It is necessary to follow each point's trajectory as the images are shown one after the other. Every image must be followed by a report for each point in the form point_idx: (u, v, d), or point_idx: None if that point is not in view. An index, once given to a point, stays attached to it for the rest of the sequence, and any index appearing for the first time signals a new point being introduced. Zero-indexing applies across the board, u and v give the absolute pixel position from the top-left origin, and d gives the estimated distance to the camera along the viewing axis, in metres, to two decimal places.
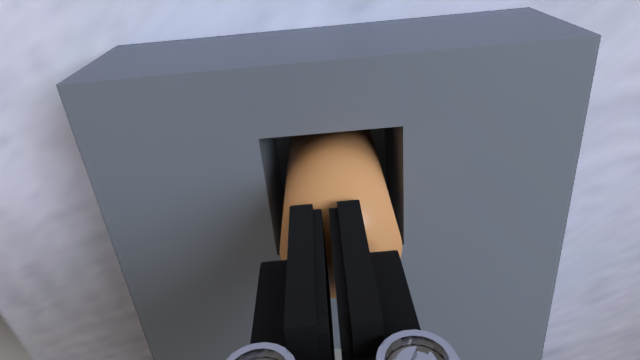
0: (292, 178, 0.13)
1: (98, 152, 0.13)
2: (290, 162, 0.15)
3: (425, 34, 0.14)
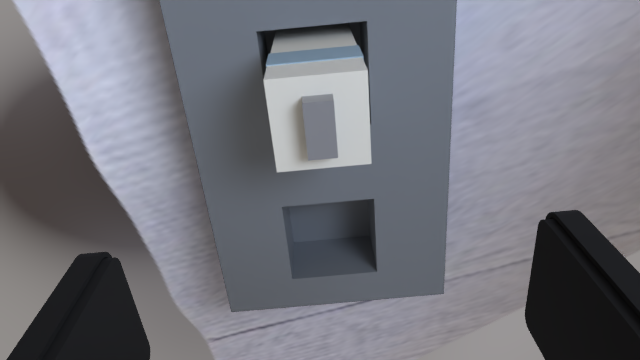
0: None
1: None
2: None
3: None
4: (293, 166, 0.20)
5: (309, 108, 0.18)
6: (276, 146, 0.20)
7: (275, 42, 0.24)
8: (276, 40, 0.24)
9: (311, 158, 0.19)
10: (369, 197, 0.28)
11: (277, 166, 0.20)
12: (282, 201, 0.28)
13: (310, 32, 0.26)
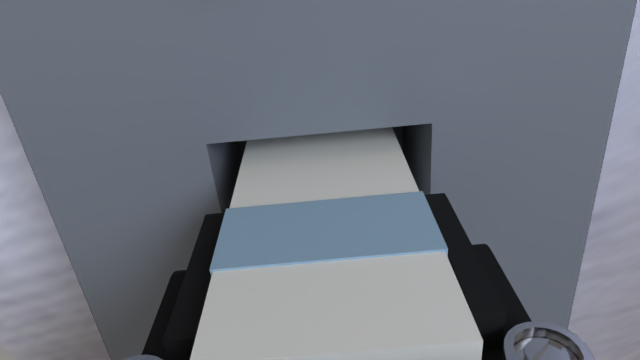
0: None
1: None
2: None
3: None
4: None
5: None
6: None
7: (246, 159, 0.12)
8: (249, 151, 0.13)
9: None
10: None
11: None
12: None
13: None
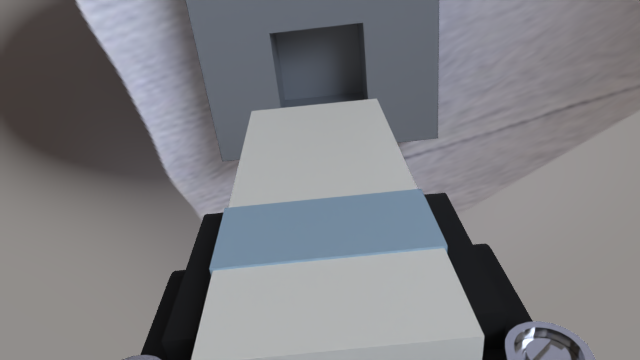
0: None
1: None
2: None
3: None
4: None
5: None
6: None
7: (244, 158, 0.12)
8: (247, 151, 0.13)
9: None
10: (358, 21, 0.27)
11: None
12: (269, 26, 0.27)
13: (312, 127, 0.14)
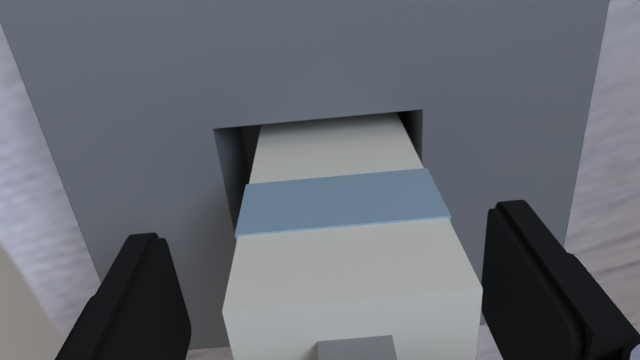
0: None
1: None
2: None
3: None
4: None
5: None
6: None
7: (262, 142, 0.13)
8: (264, 135, 0.13)
9: None
10: (412, 106, 0.12)
11: None
12: (213, 114, 0.12)
13: None
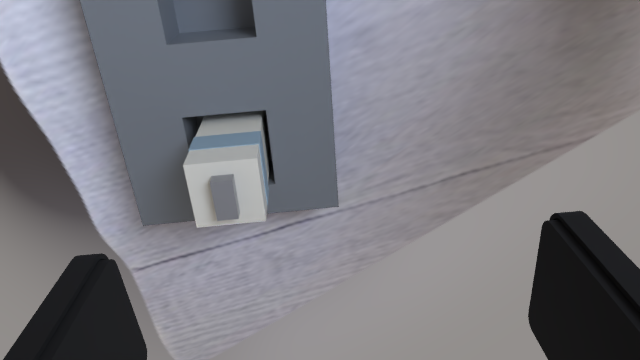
0: None
1: None
2: None
3: None
4: (208, 223, 0.28)
5: (215, 185, 0.26)
6: (195, 209, 0.27)
7: (202, 123, 0.32)
8: (204, 121, 0.32)
9: (219, 219, 0.27)
10: (261, 108, 0.31)
11: (197, 223, 0.28)
12: (182, 112, 0.31)
13: (232, 113, 0.33)
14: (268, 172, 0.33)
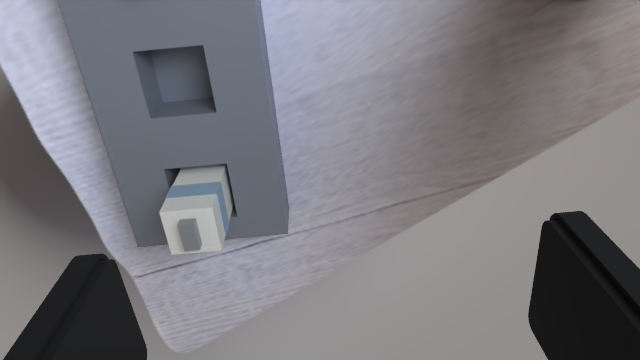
0: None
1: None
2: None
3: None
4: (179, 252, 0.38)
5: (181, 227, 0.36)
6: (169, 242, 0.38)
7: (180, 172, 0.42)
8: (181, 170, 0.42)
9: (186, 250, 0.37)
10: (223, 162, 0.41)
11: (171, 252, 0.38)
12: (163, 165, 0.41)
13: None
14: (231, 208, 0.43)
